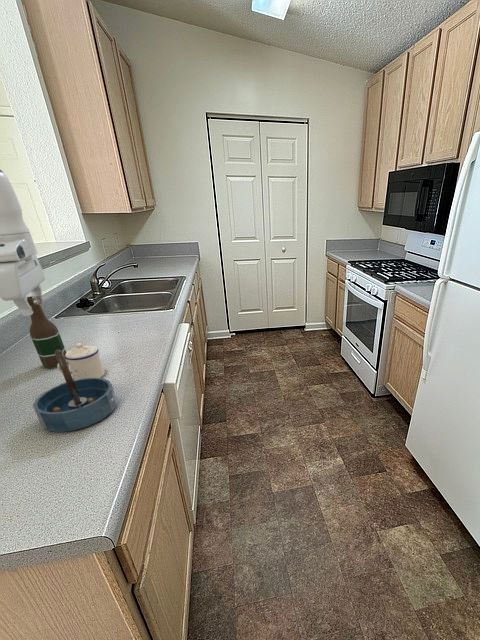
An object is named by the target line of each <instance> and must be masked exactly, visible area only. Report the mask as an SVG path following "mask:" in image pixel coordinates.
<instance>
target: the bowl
mask: <svg viewBox="0 0 480 640" xmlns="http://www.w3.org/2000/svg"><path fill="white" fill-rule="evenodd" d="M73 381H74V383H75V386H76V389H77V391H78V394H79V396H80V397H85V398H87V399H88V398H93V399H94V400H95V401H94V402H92V403H90V404H88V405H85V406H82V407H79V408H77V409H73V410H70V408H69V406H68V403H69V402H70V401H71V400H73V398H72V396H71V393H70V391H69V388H68V386H67V383H66V382H63V383H60V384H58V385H56V386H53V387H51V388H50V389H47V390H46V391H44V392H42V393H41V394H40V395H39V396H38V397H36V399H35V401H34V402H33V409H34V412H35V414H36V416H37V419H38V420H39V422H40V425H41V427H42V428H43V429H45V430H46V431H50V432H56V433H62V432H72V431H77V430H80V429H84V428H88V427H90V426H92V425H94V424H96V423H98V422H100V421H101V420H104V419H105V418H107V416H109V415H110V414H111V413H112V412H113V411H114V410H115V409H116V407H117V403H118V400H117V396H116V393H115V390H114V388H113V387H114V385H113V384H112V383H111V381H110V380H109V379H106V378H103V377H101V378H96V377H95V378H83V379H77V380H75V379H73ZM55 407H59V408H60V409H61V412H52V409H53V408H55Z"/></svg>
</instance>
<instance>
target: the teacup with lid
mask: <svg viewBox="0 0 480 640" xmlns="http://www.w3.org/2000/svg"><path fill="white" fill-rule="evenodd" d="M65 358H66V362H67V364H68V367H69V369H70V373H71V375H72V377H73V380H77V379H83V378H95V377H96V378H103V376H104V375H105V374H106V371H105V367H104V365H103V362H102V359H101V356H100V353H99V348H98V347H97V346H95V345H86V344H83V343H82V342H78V343H75V347H73V348H71V349H70V350H67V351H66V355H65ZM56 368H57V370H58V371H59V372H60V373H61V374H63V373H62V370H61V368H60V365H59V363H58V365H57V367H56Z"/></svg>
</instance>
